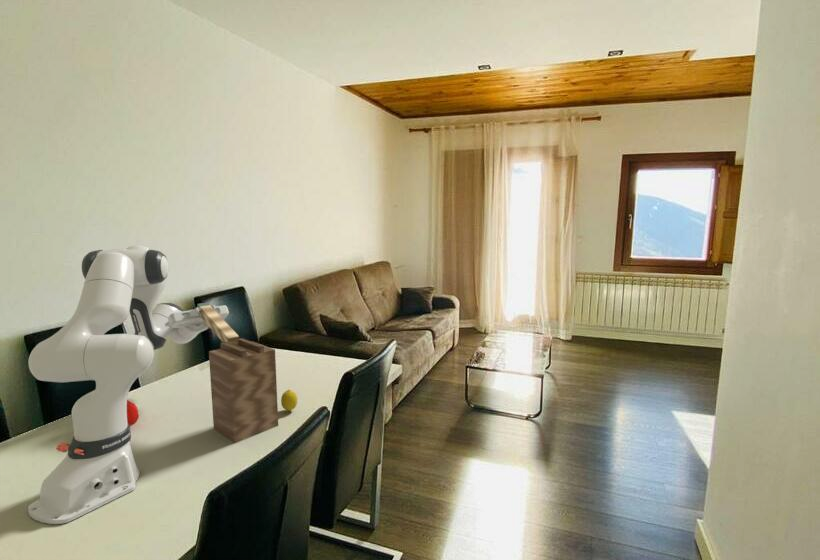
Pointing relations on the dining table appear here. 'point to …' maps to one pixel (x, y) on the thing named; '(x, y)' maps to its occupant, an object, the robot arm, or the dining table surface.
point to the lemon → (289, 400)
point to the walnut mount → (243, 389)
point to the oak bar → (218, 324)
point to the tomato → (132, 413)
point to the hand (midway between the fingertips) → (206, 308)
